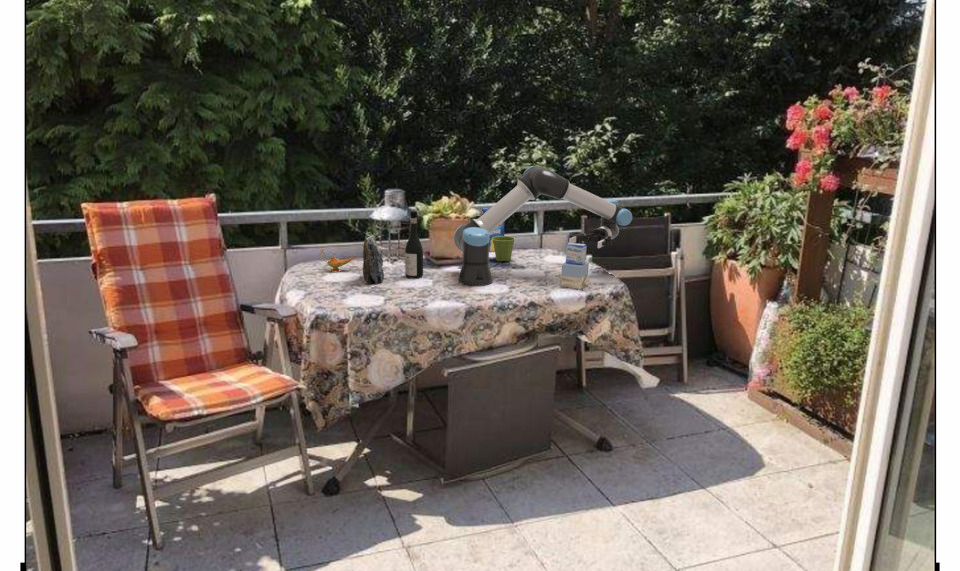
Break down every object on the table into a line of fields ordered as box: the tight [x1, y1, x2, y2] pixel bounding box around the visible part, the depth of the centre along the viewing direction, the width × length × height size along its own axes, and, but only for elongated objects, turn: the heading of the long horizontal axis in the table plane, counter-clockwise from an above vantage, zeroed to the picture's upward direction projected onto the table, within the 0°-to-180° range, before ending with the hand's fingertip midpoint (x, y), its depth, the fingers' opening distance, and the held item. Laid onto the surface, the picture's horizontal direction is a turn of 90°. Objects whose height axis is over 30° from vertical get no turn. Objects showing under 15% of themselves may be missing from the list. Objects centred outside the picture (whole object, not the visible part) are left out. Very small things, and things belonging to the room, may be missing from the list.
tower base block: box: [561, 273, 590, 290], centre depth 341 cm, size 9×9×5 cm
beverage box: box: [479, 207, 506, 253], centre depth 407 cm, size 7×11×22 cm, turn 116°
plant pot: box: [492, 235, 516, 262], centre depth 385 cm, size 12×12×11 cm
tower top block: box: [560, 261, 589, 278], centre depth 340 cm, size 9×9×5 cm
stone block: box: [362, 234, 385, 285], centre depth 344 cm, size 18×9×20 cm, turn 3°
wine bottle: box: [404, 210, 424, 279], centre depth 349 cm, size 8×8×30 cm
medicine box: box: [565, 242, 588, 265], centre depth 338 cm, size 8×4×9 cm, turn 65°
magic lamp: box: [318, 247, 359, 272], centre depth 360 cm, size 7×18×11 cm, turn 96°
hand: (583, 243), depth 345 cm, fingers open, 13 cm apart
